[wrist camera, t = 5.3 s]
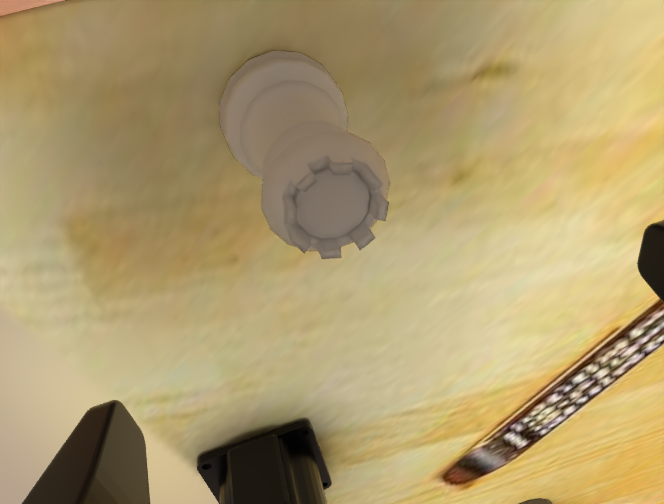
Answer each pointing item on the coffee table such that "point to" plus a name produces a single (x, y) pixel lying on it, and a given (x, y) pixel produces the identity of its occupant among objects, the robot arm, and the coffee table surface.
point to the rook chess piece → (304, 153)
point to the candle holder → (537, 501)
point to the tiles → (21, 5)
